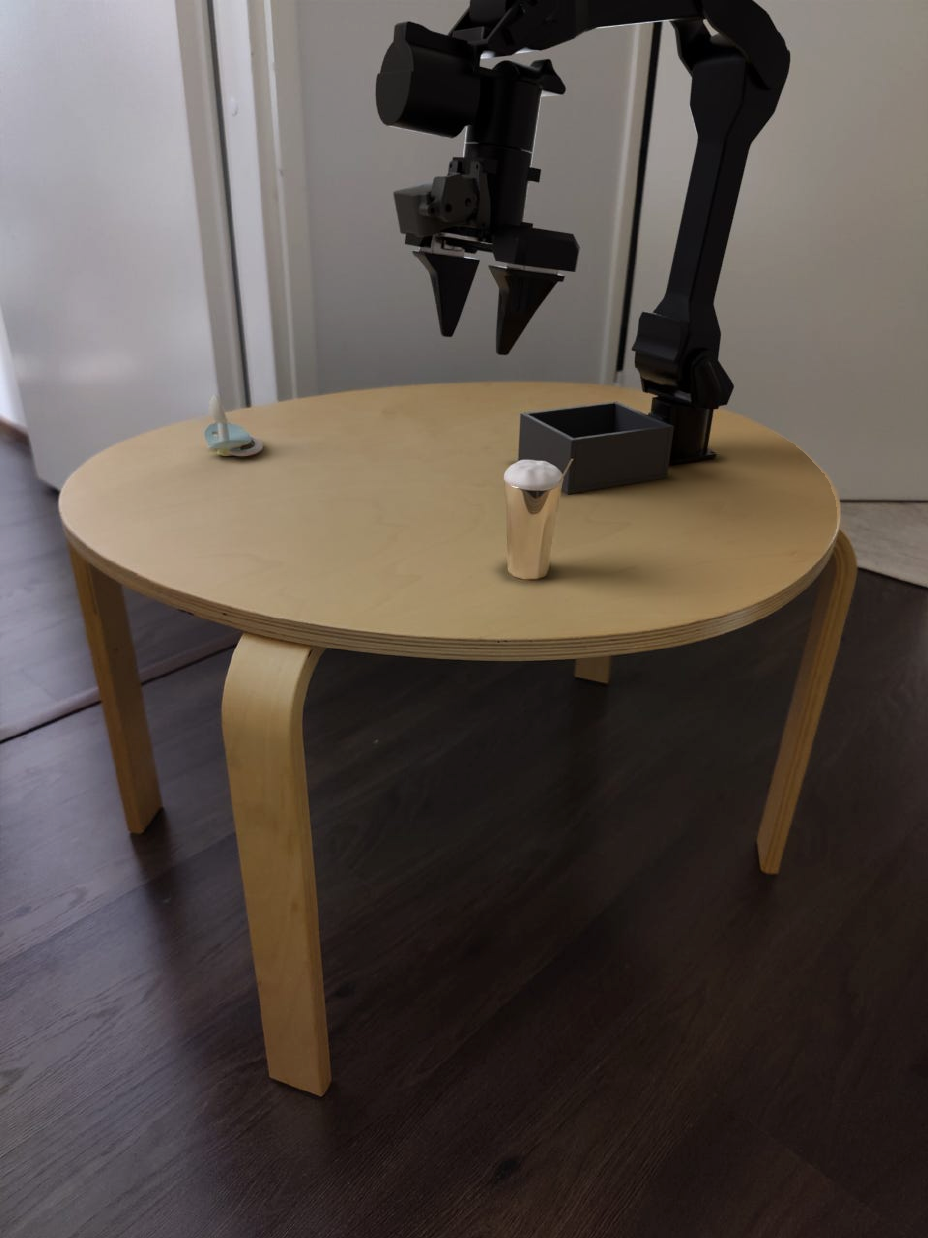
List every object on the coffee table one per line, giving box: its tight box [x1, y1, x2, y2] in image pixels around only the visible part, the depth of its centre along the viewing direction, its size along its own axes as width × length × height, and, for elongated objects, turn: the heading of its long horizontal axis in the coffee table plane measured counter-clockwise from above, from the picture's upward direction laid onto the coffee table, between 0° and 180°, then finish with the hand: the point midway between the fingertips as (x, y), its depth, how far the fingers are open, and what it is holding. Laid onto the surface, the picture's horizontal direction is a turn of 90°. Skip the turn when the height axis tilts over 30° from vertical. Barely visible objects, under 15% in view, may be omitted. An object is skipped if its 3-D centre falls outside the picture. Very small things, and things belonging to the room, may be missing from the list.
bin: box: [517, 401, 674, 495], centre depth 90 cm, size 12×10×6 cm
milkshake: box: [503, 459, 573, 580], centre depth 67 cm, size 4×5×10 cm
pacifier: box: [203, 394, 263, 457], centre depth 94 cm, size 7×6×6 cm
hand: (473, 345), depth 77 cm, fingers open, 9 cm apart
